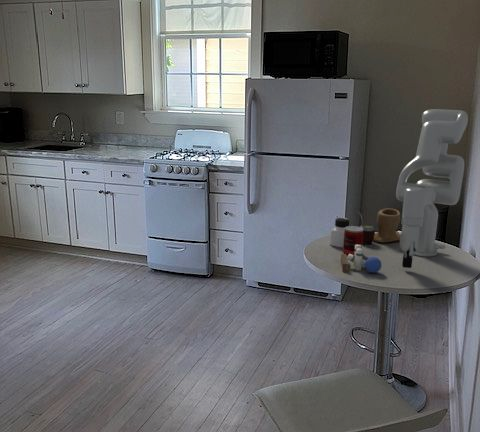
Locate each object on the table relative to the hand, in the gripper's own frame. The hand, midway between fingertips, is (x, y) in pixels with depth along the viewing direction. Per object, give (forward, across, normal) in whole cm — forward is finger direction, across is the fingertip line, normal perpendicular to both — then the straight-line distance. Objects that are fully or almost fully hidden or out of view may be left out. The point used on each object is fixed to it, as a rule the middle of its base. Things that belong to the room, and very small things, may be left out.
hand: (406, 266), depth 195 cm
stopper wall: (+2, 0, -24) cm, 24 cm away
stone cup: (+2, -39, -1) cm, 39 cm away
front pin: (0, 0, -15) cm, 15 cm away
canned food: (+2, -17, -19) cm, 25 cm away
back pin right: (+2, -2, -18) cm, 19 cm away
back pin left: (+2, +2, -18) cm, 19 cm away
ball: (-2, +5, -13) cm, 14 cm away
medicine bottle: (+2, -28, -23) cm, 37 cm away
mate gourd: (+2, -33, -12) cm, 35 cm away
